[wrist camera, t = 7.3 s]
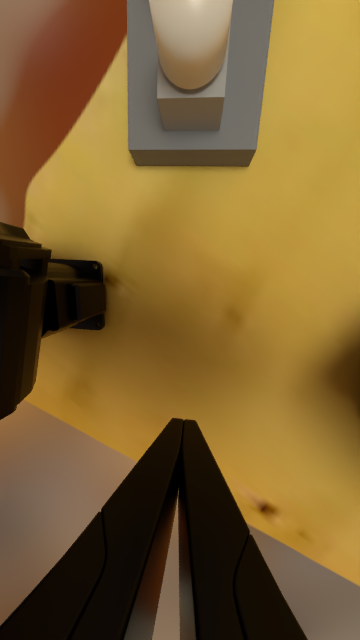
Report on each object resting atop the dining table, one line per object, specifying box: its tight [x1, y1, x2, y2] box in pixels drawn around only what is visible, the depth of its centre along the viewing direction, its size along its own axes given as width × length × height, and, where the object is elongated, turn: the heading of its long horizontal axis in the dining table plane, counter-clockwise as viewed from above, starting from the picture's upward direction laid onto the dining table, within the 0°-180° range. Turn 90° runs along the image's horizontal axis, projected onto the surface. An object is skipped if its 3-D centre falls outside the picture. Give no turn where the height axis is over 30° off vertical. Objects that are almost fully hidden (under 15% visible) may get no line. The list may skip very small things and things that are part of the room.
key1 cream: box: [149, 0, 233, 89], centre depth 10 cm, size 4×4×5 cm
